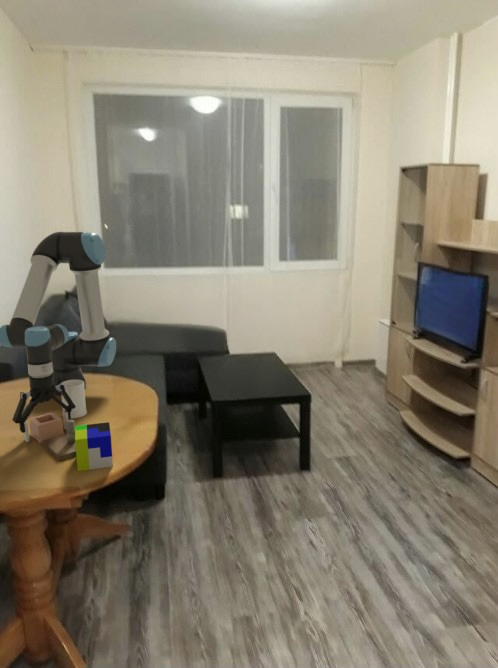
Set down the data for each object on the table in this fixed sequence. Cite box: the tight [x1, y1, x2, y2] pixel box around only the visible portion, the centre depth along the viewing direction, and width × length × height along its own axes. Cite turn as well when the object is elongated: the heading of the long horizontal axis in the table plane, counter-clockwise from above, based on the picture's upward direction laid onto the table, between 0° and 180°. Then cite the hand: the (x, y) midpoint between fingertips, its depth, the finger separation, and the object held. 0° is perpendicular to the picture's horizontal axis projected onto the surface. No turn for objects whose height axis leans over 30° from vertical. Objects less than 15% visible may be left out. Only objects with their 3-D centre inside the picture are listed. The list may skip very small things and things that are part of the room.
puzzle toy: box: [75, 422, 114, 472], centre depth 165 cm, size 10×10×10 cm
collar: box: [28, 411, 64, 444], centre depth 182 cm, size 8×8×6 cm
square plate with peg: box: [41, 419, 77, 462], centre depth 174 cm, size 14×14×8 cm
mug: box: [61, 380, 88, 419], centre depth 198 cm, size 12×8×12 cm
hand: (47, 434), depth 183 cm, fingers open, 13 cm apart
